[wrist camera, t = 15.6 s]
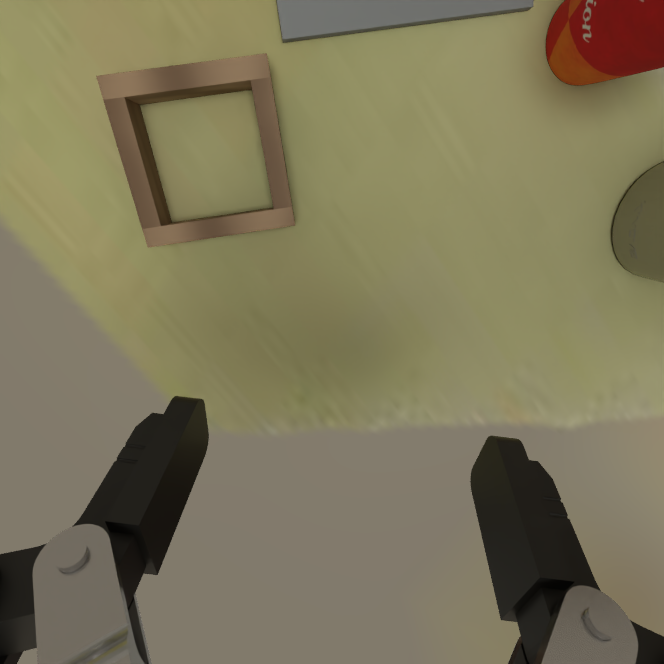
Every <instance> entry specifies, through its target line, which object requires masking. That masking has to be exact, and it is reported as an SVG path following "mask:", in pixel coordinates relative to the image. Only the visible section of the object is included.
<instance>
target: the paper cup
mask: <svg viewBox="0 0 664 664" xmlns="http://www.w3.org/2000/svg"><path fill="white" fill-rule="evenodd" d="M546 55H547V60H548V63H549V66H550V68H551V70H552V71H553V73H554V74H555V75H556V77H558V78H559V79H560V80H561V81H563V82H565V83H567V84H570V85H587V84H593V83H597V82H602V81H607V80H611V79H615V78H620V77H624V76H629V75H633V74H637V73H641V72H645V71H650V70H654V69H658V68H662V67H664V0H565V1H564V2H563V3H562V4H561V6H560V7H559V8H558V10H557V11H556V13H555V14H554V16H553V18H552V20H551V23H550V25H549V28H548V32H547V37H546Z"/></svg>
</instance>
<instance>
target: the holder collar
mask: <svg viewBox="0 0 664 664" xmlns="http://www.w3.org/2000/svg"><path fill="white" fill-rule="evenodd" d="M96 77H97V80H98V83H99V87H100V90H101V93H102V97H103V100H104V103H105V107H106V110H107V113H108V117H109V120H110V123H111V127H112V130H113V133H114V137H115V140H116V143H117V147H118V150H119V153H120V156H121V160H122V163H123V166H124V170H125V173H126V176H127V180H128V183H129V186H130V190H131V193H132V196H133V200H134V203H135V206H136V210H137V213H138V216H139V220H140V223H141V226H142V230H143V233H144V236H145V240H146V243H147V246H148V247H155V246H161V245H168V244H175V243H181V242H188V241H194V240H201V239H208V238H214V237H221V236H228V235H234V234H241V233H248V232H254V231H261V230H267V229H274V228H281V227H287V226H294V225H295V220H294V214H293V208H292V202H291V196H290V190H289V184H288V178H287V172H286V166H285V160H284V154H283V148H282V142H281V135H280V129H279V123H278V117H277V111H276V105H275V99H274V93H273V87H272V81H271V75H270V69H269V63H268V58H267V53H266V54H258V55H251V56H243V57H236V58H228V59H221V60H213V61H206V62H198V63H191V64H183V65H175V66H168V67H160V68H153V69H145V70H138V71H130V72H123V73H115V74H108V75H100V76H96ZM245 90H252V91H253V97H254V102H255V108H256V113H257V119H258V124H259V130H260V135H261V141H262V147H263V152H264V158H265V163H266V169H267V174H268V180H269V185H270V191H271V196H272V202H273V207H274V208H267V209H261V210H254V211H247V212H240V213H234V214H227V215H220V216H213V217H207V218H200V219H193V220H186V221H180V222H173V223H172V222H171V218H170V215H169V211H168V207H167V204H166V200H165V196H164V193H163V189H162V186H161V182H160V178H159V175H158V171H157V167H156V164H155V160H154V156H153V153H152V149H151V145H150V142H149V138H148V134H147V131H146V127H145V123H144V120H143V116H142V112H141V109H140V105H142V104H149V103H157V102H164V101H171V100H179V99H186V98H193V97H201V96H208V95H215V94H223V93H230V92H237V91H245Z"/></svg>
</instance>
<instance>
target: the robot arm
mask: <svg viewBox="0 0 664 664" xmlns="http://www.w3.org/2000/svg"><path fill="white" fill-rule="evenodd" d="M612 242H613V246H614V251H615V254H616V256H617V258H618V260H619V262H620V263H621V264H622V265H623V266H624V268H625V269H627V270H628V271H630V272H631V273H633V274H635V275H638V276H641V277H645V278H649V279H652V280H656V281H660V282H663V283H664V162H662V163H660V164H658V165H657V166H655V167H653V168H652V169H650V170H648V171H647V172H646V173H645V174H644V175H643V176H641V177H640V178H639V179H638V180H637V181H636V182H635V183H634V185H633V186H632V187H631V188H630V189H629V190H628V192H627V194H626V195H625V197H624V199H623V200H622V202H621V203H620V206H619V208H618V211H617V213H616V216H615V220H614V225H613V238H612ZM208 438H209V433H208V425H207V418H206V411H205V404H204V401H203V399H196V398H188V397H180V396H175V397H174V398H173V399H172V400H171V402H170V404H169V405H168V407H167V409H166V411H165V413H164V414H157V413H152V414H150V415H149V416H148V417H147V418H146V419H144V420H143V421H142V422H141V423H140V424H139V425H138V426H136V427H135V429H134V431H133V432H132V434H131V436H130V438H129V439H128V440H127V442H126V445H125V447H123V449H122V450H121V452H120V454H119V455H118V457H117V461H115V462H114V463H113V465H112V467H111V469H110V470H109V472H108V473H107V475H106V477H105V478H104V480H103V482H102V483H101V485H100V487H99V488H98V490H97V491H96V493H95V495H94V497H93V498H92V500H91V501H90V503H89V505H88V506H87V508H86V510H85V511H84V513H83V514H82V516H81V517H80V519H79V520H78V521H77V522H76V523H75V525H74V526H72V527H71V528H69V529H66V530H64V531H62V532H61V533H60V534H58V535H56V536H55V537H54V538H52V539H51V540H50V541H49V542H48V543H47V544H44V545H41V546H38V547H34V548H29V549H24V550H20V551H14V552H10V553H4V554H0V664H17V662H18V660H19V658H20V657H21V655H22V652H23V651H26V650H29V649H33V648H37V657H38V664H152V663H151V659H150V655H149V650H148V646H147V642H146V638H145V633H144V629H143V624H142V620H141V616H140V612H139V607H138V603H137V599H136V594H135V592H136V589H137V587H138V585H139V582H140V580H141V577H142V575H143V573H145V574H153V575H158V572H159V570H160V567H161V565H162V562H163V560H164V557H165V555H166V552H167V550H168V547H169V545H170V542H171V540H172V537H173V535H174V532H175V530H176V527H177V525H178V522H179V519H180V517H181V515H182V512H183V510H184V507H185V505H186V502H187V500H188V497H189V495H190V492H191V490H192V487H193V485H194V482H195V480H196V477H197V475H198V472H199V469H200V467H201V465H202V462H203V459H204V457H205V454H206V451H207V446H208ZM471 490H472V495H473V499H474V504H475V508H476V513H477V517H478V521H479V526H480V530H481V534H482V539H483V543H484V548H485V552H486V556H487V561H488V565H489V570H490V574H491V578H492V583H493V587H494V592H495V596H496V600H497V605H498V609H499V613H500V618H501V620H505V621H514V622H518V626H519V630H520V634H521V636H520V637H519V639H518V641H517V643H516V645H515V648H514V650H513V653H512V655H511V658H510V660H509V662H508V664H664V637H663V636H661V635H659V634H657V633H654V632H652V631H650V630H648V629H646V628H643V627H642V626H640V625H638V624H636V623H634V622H632V621H631V620H629V618H628V617H627V615H626V614H625V612H624V611H623V610H622V609H621V607H620V606H619V605H618V604H617V603H616V602H615V601H614V600H612V599H611V598H610V597H609V596H607V595H606V594H604V593H603V592H601V590H600V589H599V587H598V585H597V583H596V581H595V579H594V577H593V574H592V572H591V569H590V567H589V565H588V562H587V560H586V557H585V555H584V553H583V550H582V548H581V545H580V543H579V541H578V538H577V536H576V534H575V531H574V529H573V526H572V524H571V522H570V520H569V519H568V518H567V512H566V510H565V507H564V505H563V503H562V502H561V501H560V500H561V498H560V496H559V493H558V491H557V488H556V486H555V484H554V481H553V479H552V478H551V477H550V475H549V474H548V473H547V472H546V471H545V469H544V468H543V467H542V466H541V464H540V463H539V462H538V461H531V460H529V459H528V457H527V454H526V451H525V449H524V446H523V444H522V442H521V441H520V440H519V439H514V438H506V437H498V436H489V437H488V438H487V440H486V442H485V444H484V446H483V448H482V450H481V452H480V454H479V456H478V458H477V460H476V462H475V464H474V466H473V468H472V472H471Z"/></svg>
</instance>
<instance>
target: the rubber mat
mask: <svg viewBox="0 0 664 664" xmlns="http://www.w3.org/2000/svg"><path fill="white" fill-rule="evenodd" d="M276 1H277V7H278V14H279V20H280V27H281V34H282V40H283V43H284V42H292V41H299V40H307V39H314V38H322V37H330V36H337V35H345V34H352V33H360V32H368V31H375V30H383V29H390V28H398V27H406V26H413V25H421V24H428V23H436V22H443V21H451V20H459V19H466V18H474V17H481V16H489V15H497V14H504V13H512V12H519V11H527V10H529V9H531V8H532V7H533V0H276Z"/></svg>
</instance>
